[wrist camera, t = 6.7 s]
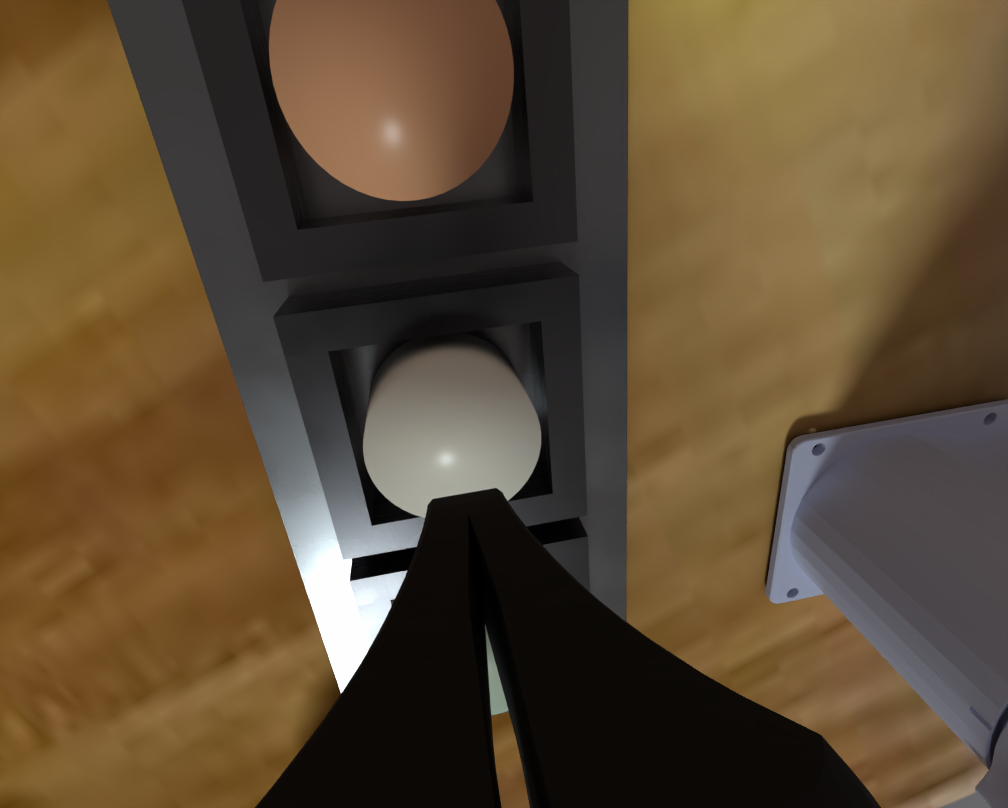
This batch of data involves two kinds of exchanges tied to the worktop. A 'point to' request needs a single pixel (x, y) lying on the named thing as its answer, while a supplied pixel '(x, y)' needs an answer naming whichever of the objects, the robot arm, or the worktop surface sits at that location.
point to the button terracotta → (393, 89)
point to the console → (406, 285)
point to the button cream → (448, 422)
